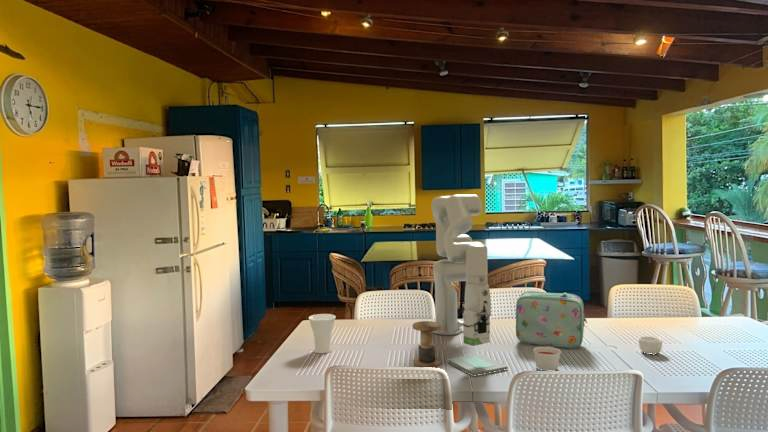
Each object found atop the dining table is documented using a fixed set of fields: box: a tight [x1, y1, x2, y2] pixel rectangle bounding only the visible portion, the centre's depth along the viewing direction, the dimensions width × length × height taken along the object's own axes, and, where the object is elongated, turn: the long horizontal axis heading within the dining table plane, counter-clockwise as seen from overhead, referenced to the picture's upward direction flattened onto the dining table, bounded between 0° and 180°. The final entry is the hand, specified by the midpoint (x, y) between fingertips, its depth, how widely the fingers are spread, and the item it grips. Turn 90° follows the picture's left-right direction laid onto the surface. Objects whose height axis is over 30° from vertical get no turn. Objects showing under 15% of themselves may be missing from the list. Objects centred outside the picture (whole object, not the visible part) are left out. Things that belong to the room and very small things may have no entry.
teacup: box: [638, 335, 663, 354], centre depth 200 cm, size 10×8×5 cm
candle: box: [533, 346, 562, 371], centre depth 184 cm, size 9×9×6 cm
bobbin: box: [412, 320, 442, 368], centre depth 191 cm, size 10×10×14 cm
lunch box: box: [515, 290, 588, 349], centre depth 211 cm, size 27×10×21 cm, turn 65°
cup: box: [308, 313, 336, 354], centre depth 207 cm, size 10×10×14 cm
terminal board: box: [447, 353, 508, 377], centre depth 187 cm, size 14×16×1 cm
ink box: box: [463, 309, 491, 347], centre depth 186 cm, size 9×5×12 cm, turn 123°
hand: (477, 330), depth 187 cm, fingers closed on ink box, 5 cm apart
